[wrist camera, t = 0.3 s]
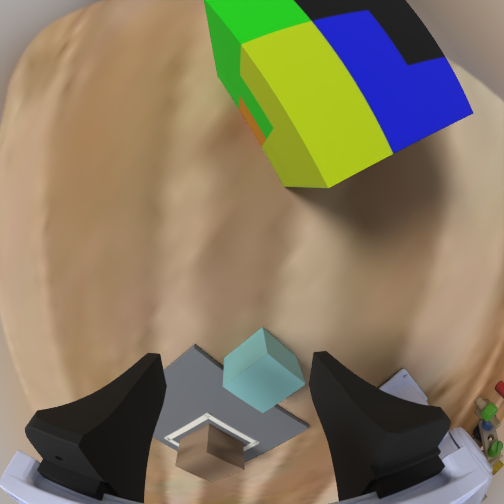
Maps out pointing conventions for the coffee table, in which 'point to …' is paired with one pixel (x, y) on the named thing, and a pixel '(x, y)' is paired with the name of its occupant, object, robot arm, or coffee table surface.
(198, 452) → the walnut block
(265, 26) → the puzzle toy
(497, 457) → the toy construction set
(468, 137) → the coffee table surface
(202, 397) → the grey flat plate
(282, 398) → the teal block
